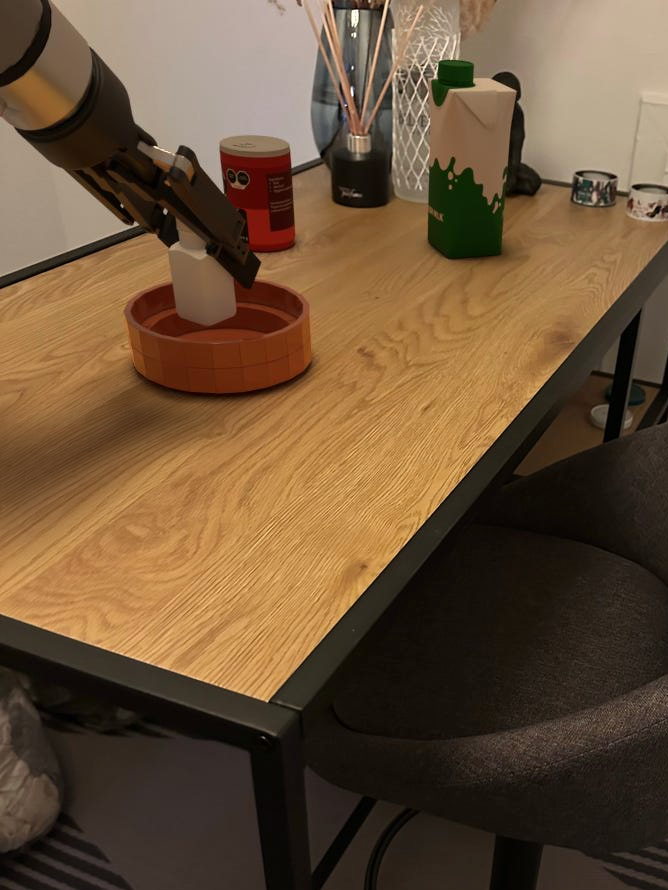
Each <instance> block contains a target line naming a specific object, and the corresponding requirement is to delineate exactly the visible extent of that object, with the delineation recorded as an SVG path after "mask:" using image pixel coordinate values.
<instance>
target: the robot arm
mask: <svg viewBox="0 0 668 890" xmlns="http://www.w3.org/2000/svg"><path fill="white" fill-rule="evenodd" d="M0 118H2V119H3V120H4V121H5V122H6V123H7V124H9V125H11V126H12V127H13V129H14V130H15V131H16V132H17V134H18V135H20V137H22V138H23V139H24V140H25V141H26V142H27V143H28V144H29V145H31V147H33V148H34V149H35V150H36V151H37V152H38V153H39V154H41V156H42V157H44V158H45V160H47V161H48V162H49V163H51V164H52V165H54V166H55V167H57V168H60V169H62V170H63V171H64V172H65V173H67V174H68V175H69V176H70V177H71V178H72V179H74V180H75V181H76V182H77V183H78V184H79V185H80V186H81V187H83V189H85V191H87V192H88V193H89V194H90V195H91V196H93V197H94V198H95V199H96V200H97V201H98V202H99V203H101V205H103V206H104V207H105V208H106V209H107V210H108V211H109V212H111V213H112V215H114V217H116V218H117V219H118V220H120V221H121V222H122V223H123V225H126V226H130V227H133V226H134V224H135V223H137V224H138V226H139V227H140V228H141V229H142V230H143V231H144V232H145V233H147V234H151V235H156V236H157V239H158V240H159V241H160V242H161V243H163V245H165V246H166V247H167V248H168V249H169V248H170V247H171V246H172V245H173V244H175V243H176V242H179V241H180V240H179V233H178V230H177V224H176V218H177V219H178V220H180V221H181V222H182V223H183V224H184V225H186V226H187V227H188V228H189V229H190V230H192V231H193V232H194V233H195V234H196V235H198V236H199V237H200V238H201V239H202V240H204V241H205V242H206V243H207V244H206V246H205V249H206V250H207V251H206V254H207V255H209V256H211V257H214V258H215V259H216V260H217V261H218V262H219V263H220V265H221V266H222V267H223V268H224V269H225V270H226V271H227V272H228V273H229V274H231V276H232V277H233V278H234V279H235V280H236V281H237V282H238V283H239V284H240V285H241V286H242V287H243V288H245V289H249V290H251V288H252V286H253V283H254V280H255V279H257V275H258V273H259V270H260V267H261V265H262V261H261V260H260V259H259V258H258V257H257V255H256V254H255V253H254V251H251V250H250V249H249V248H248V247H247V245H246V244H245V243H244V242H243V241H242V240H241V239H240V238H239V237H240V235H241V232H242V230H243V227H244V224H245V222H246V221H245V219H244V218H243V217H242V215H241V214H240V213H239V212H238V211H237V209H236V208H235V207H234V206H233V205H232V204H231V202H230V201H229V200H228V199H227V198H226V196H225V195H224V192H223V191H222V190H221V189H220V188H219V186H218V185H217V184H216V183H215V182H214V181H213V179H212V178H211V176H209V174H208V173H207V172H206V171H205V170H204V169H203V168H202V167H201V165H200V162H199V160H198V157H197V155H196V153H195V151H194V150H192V148H190V147H189V146H186V145H185V144H180V145H178V148H177V150H176V151H175V153H174V152H171V151H169V150H167V149H164V148H161V147H159V145H158V142H157V141H156V139H155V138H154V137H153V136H152V135H151V134H150V133H148V132H147V131H145V130H144V129H143V127H141V126H140V125H139V124H137V123H136V121H135V119H134V115H133V111H132V105H131V100H130V96H129V93H128V90H127V88H126V87H125V85H124V83H123V82H122V81H121V80H120V78H119V77H118V76H117V75H116V74H115V72H114V71H113V70H112V69H111V68H110V67H109V66H108V65H107V64H106V62H105V61H104V60H103V59H102V58H101V56H100V55H99V54H98V53H97V52H96V51H95V50H94V48H92V47H91V46H90V45H89V44H88V41H87V39H86V38H84V37H83V35H82V34H81V33H80V31H79V30H78V29H76V27H75V26H74V25H73V24H72V22H70V20H68V18H67V17H66V16H65V14H63V13H62V12H61V11H60V9H59V8H58V7H57V6H56V4H54V3H53V1H52V0H0ZM122 206H123V207H122ZM165 210H166V211H167V212H166V213H165V212H164V211H165Z"/></svg>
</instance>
